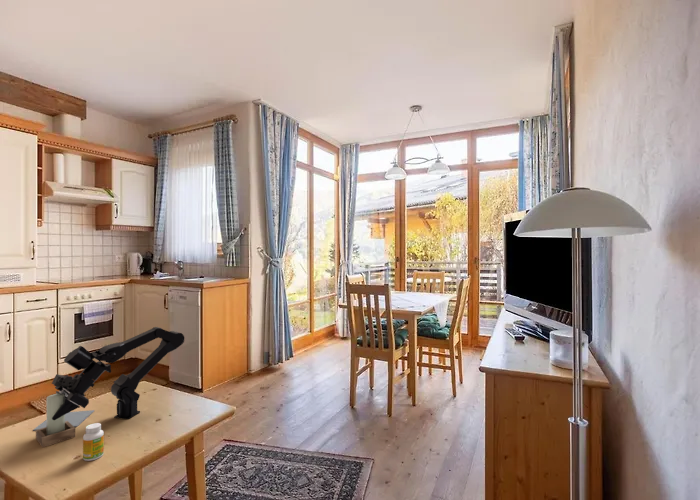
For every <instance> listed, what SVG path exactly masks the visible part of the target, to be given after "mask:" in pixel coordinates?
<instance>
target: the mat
mask: <svg viewBox="0 0 700 500" xmlns="http://www.w3.org/2000/svg"><path fill="white" fill-rule="evenodd" d="M94 412H95V409H91V410H78V411H71V412H69V413H67V414H65V421H68V422H69V423H70V424H71V425H72V426H74V427H75V428H77V427H79V426H80V425H81V424H82V423H83V422H84V421H86V419H87V418H89V417H90V416H91V415H92V414H93V413H94ZM45 427H47V419H45V420H44V421H42V422H41V423H40V424H39V425H37V426H36V427H35V428H33V429H32V431H33V432H36V430H38V429H41V428H45Z"/></svg>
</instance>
